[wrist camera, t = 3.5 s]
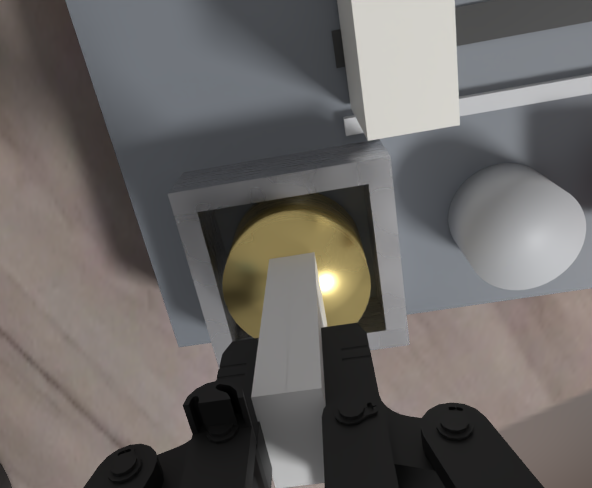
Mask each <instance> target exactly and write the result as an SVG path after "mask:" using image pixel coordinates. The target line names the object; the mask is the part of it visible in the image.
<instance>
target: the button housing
mask: <svg viewBox="0 0 592 488" xmlns="http://www.w3.org/2000/svg"><path fill="white" fill-rule="evenodd" d="M360 185H363V188H364V196H365V204H366V212H367V220H368V228H369V236H370V243H371V251H372V259H373V267H374V275H375V283H376V291H377V297H370V298H369V301H368V304H367V307H366V309H365V311H364V313H363V315H362V317H361V318H360V320H359V321H358V322H357V323H358V324H359V325H360V326H361V327H362V328H363V329H364V330H365V331H366V333H367V338H368V342H369V347H370V350H376V349H383V348H390V347H398V346H405V345H410V344H409V334H408V325H407V315H406V305H405V295H404V285H403V275H402V265H401V255H400V246H399V236H398V226H397V216H396V206H395V196H394V186H393V177H392V167H391V157H390V155H389V153H388V152H387V150H386V148H385V147H384V145H383V144H382V142H381V140H380V139H376V140H370V141H363V142H357V143H351V144H346V145H340V146H334V147H328V148H322V149H316V150H310V151H305V152H299V153H293V154H287V155H281V156H275V157H270V158H264V159H258V160H252V161H246V162H240V163H235V164H229V165H223V166H217V167H211V168H205V169H200V170H194V171H188V172H183V173H182V175H181V176H180V178H179V179H178V180H177V182H176V183H175V184H174V186H173V187H172V189H171V190H170V191H169V193H168V197H169V200H170V204H171V207H172V210H173V214H174V217H175V221H176V224H177V227H178V231H179V234H180V237H181V241H182V244H183V248H184V251H185V254H186V258H187V261H188V265H189V268H190V271H191V275H192V278H193V282H194V285H195V288H196V292H197V295H198V299H199V302H200V305H201V309H202V312H203V316H204V319H205V322H206V326H207V329H208V333H209V336H210V339H211V343H212V346H213V350H214V353H215V356H216V360H217V363H218V367H219V366H220V362H221V358H222V354H223V352H224V351H225V350H226V349H227V347H228V346H229V345H230V344H231V342H232V341H239V340H246V339H253V337H252V336H250V335H249V334H248V333H246V332H245V331H244V330H243V329H242V328H241V327H240V326H239V325H238V324H237V323H236V322H235V320H234V319H233V317H232V316H231V314H230V312H229V310H228V308H227V306H226V303H225V300H224V296H223V287H222V281H223V273H224V270H225V266H226V262H227V256H226V252H225V248H224V244H223V240H222V237H221V233H220V229H219V225H218V221H217V217H216V213H215V209H220V208H226V207H232V206H238V205H244V204H250V203H256V202H262V201H268V200H274V199H281V198H287V197H293V196H299V195H305V194H311V193H317V192H323V191H329V190H335V189H341V188H347V187H354V186H360ZM219 369H220V367H219Z"/></svg>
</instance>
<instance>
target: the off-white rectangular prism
mask: <svg viewBox="0 0 592 488" xmlns="http://www.w3.org/2000/svg"><path fill="white" fill-rule="evenodd" d="M337 5H338V12H339V20H340V28H341V36H342V43H343V51H344V59H345V67H346V74H347V82H348V90H349V98H350V105H351V109H352V111H353V113H354V115H355V117H356V119H357V121H358V123H359V125H360V127H361V129H362V130H363V132H364V134H365V136H366V138H367V140H368V141H370V140H376V139H382V138H388V137H393V136H399V135H405V134H411V133H417V132H423V131H428V130H434V129H440V128H446V127H452V126H458V125H460V113H459V90H458V66H457V43H456V20H455V0H337Z"/></svg>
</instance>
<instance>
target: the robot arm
mask: <svg viewBox="0 0 592 488" xmlns="http://www.w3.org/2000/svg"><path fill="white" fill-rule="evenodd" d="M219 367H220V369H219V370H218V375H217V380H216V381H215V382H211V383H207V384H205V385H203V386H201V387H199V388H197V389H196V390H194V391H193V392H192V393H191V394H190V395H189V396H188V397H187V399H186V401H185V402H184V404H183V407H184V410H185V413H186V416H187V419H188V422H189V425H190V428H191V431H192V433H193V435H192V439H191V440H190V441H188V442H187V443H185V444H183V445H181V446H179V447H177V448H174V449H172V450H169V451H166V452H164V453H161V454H159V455H157V454H156V452H155V451H154V450H153V449H152V448H151V447H150V446H147V445H144V444H135V445H129V446H126V447H123V448H121V449H118V450H117V451H115V452H114V453H112V454H111V455H109V456H108V457H107V458H106V459H105V460H104V461H103V462H102V463H101V464H100V465H99V466H98V468H97V469H96V471H95V472H94V474H93V475H92V476H91V478H90V479H89V481H88V482H87V483H86V485H85V486H84V488H271V481H272V477H273V480H274V484H275V488H284V487H293V486H301V485H310V484H319V483H325V488H544V487H543V486H542V485H541V483H540V482H539V481H538V480H537V479H536V477H535V476H534V475H533V474H532V473H531V472H530V471H529V469H528V468H527V467H526V465H525V464H524V463H523V462H522V460H521V459H520V458H519V457H518V456H517V454H516V453H515V452H514V451H513V450H512V449H511V447H510V446H509V445H508V443H507V442H506V441H505V440H504V439H503V437H502V436H501V435H500V434H499V433H498V431H497V430H496V429H495V428H494V427H493V425H492V424H491V423H490V422H489V421H488V419H487V418H486V417H485V416H484V415H483V414H482V413H480V412H479V411H478V410H477V409H475V408H473V407H470V406H468V405H465V404H459V403H446V404H439V405H437V406H435V407H433V408H431V409H429V410H428V411H427V412H426V414H425V415H424V416H423V417H422V418H417V417H409V416H405V415H401V414H398V413H396V412H394V411H392V410H390V409H389V408H388V407H386V406H385V404H384V403H383V402H382V401H381V398H380V396H379V392H378V387H377V382H376V377H375V372H374V367H373V362H372V357H371V352H370V347H369V342H368V338H367V333H366V331H365V330H364V329H363V328H362V327H361V326H360V325H359V324H358V323H350V324H343V325H336V326H329V327H327V320H326V314H325V309H324V303H323V297H322V292H321V286H320V281H319V275H318V269H317V264H316V258H315V253H314V252H312V253H306V254H299V255H293V256H286V257H280V258H273V259H269V265H268V273H267V280H266V288H265V296H264V303H263V311H262V318H261V326H260V334H259V338H253V339H246V340H239V341H232V342H231V344H230V345H229V346H228V347H227V349H226V350H225V351H224V352H223V354H222V358H221V362H220V366H219ZM0 488H12V487H11V483H10V481H9V478H8V476H7V474H6V472H5V470H4V469H3V467H2V465H1V464H0Z"/></svg>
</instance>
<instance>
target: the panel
mask: <svg viewBox="0 0 592 488" xmlns="http://www.w3.org/2000/svg"><path fill="white" fill-rule="evenodd" d="M65 1H66V4H67V7H68V10H69V13H70V16H71V19H72V23H73V26H74V29H75V32H76V35H77V38H78V41H79V44H80V47H81V50H82V53H83V56H84V59H85V62H86V65H87V68H88V71H89V74H90V77H91V81H92V84H93V87H94V90H95V93H96V96H97V99H98V102H99V105H100V108H101V111H102V114H103V117H104V120H105V123H106V126H107V129H108V132H109V135H110V138H111V142H112V145H113V148H114V151H115V154H116V157H117V160H118V163H119V166H120V169H121V172H122V175H123V178H124V181H125V184H126V187H127V190H128V193H129V196H130V199H131V203H132V206H133V209H134V212H135V215H136V218H137V221H138V224H139V227H140V230H141V233H142V236H143V239H144V242H145V245H146V248H147V251H148V254H149V257H150V261H151V264H152V267H153V270H154V273H155V276H156V279H157V282H158V285H159V288H160V291H161V294H162V297H163V300H164V303H165V306H166V309H167V312H168V315H169V318H170V322H171V325H172V328H173V331H174V334H175V337H176V340H177V343H178V346H179V347H184V346H191V345H198V344H205V343H211V339H210V336H209V333H208V329H207V326H206V322H205V319H204V316H203V312H202V309H201V305H200V302H199V299H198V295H197V292H196V288H195V285H194V282H193V278H192V275H191V271H190V268H189V265H188V261H187V258H186V254H185V251H184V248H183V244H182V241H181V237H180V234H179V231H178V227H177V224H176V221H175V217H174V214H173V210H172V207H171V204H170V200H169V197H168V193H169V191H170V190H171V189H172V187H173V186H174V184H175V183H176V182H177V180H178V179H179V178H180V176H181V175H182V173H183V172H188V171H194V170H200V169H205V168H211V167H217V166H223V165H229V164H235V163H240V162H246V161H252V160H258V159H264V158H270V157H275V156H281V155H287V154H293V153H299V152H305V151H310V150H316V149H322V148H328V147H334V146H340V145H346V144H351V143H357V142H363V141H368V140H367V138H366V136H365V134H364V132H363V130H362V129H361V127H360V125H359V123H358V121H357V119H356V117H355V115H354V113H353V111H352V109H351V105H350V98H349V90H348V82H347V74H346V67H345V59H344V51H343V43H342V36H341V28H340V20H339V12H338V5H337V0H65ZM455 20H456V43H457V66H458V90H459V113H460V125H458V126H452V127H446V128H440V129H434V130H428V131H423V132H417V133H411V134H405V135H399V136H393V137H388V138H382V139H380V140H381V142H382V144H383V145H384V147H385V148H386V150H387V152H388V153H389V155H390V157H391V167H392V177H393V186H394V196H395V206H396V216H397V226H398V236H399V246H400V255H401V265H402V275H403V285H404V295H405V305H406V315H407V314H414V313H421V312H428V311H435V310H442V309H449V308H456V307H463V306H470V305H477V304H484V303H491V302H498V301H505V300H512V299H519V298H526V297H533V296H540V295H547V294H554V293H561V292H568V291H575V290H582V289H589V288H592V0H455ZM317 193H319V194H322V195H324V196H327V197H329V198H330V199H332V200H334V201H335V202H337V203H338V204H339V205H341V206H342V207H343V208H344V209H345V210H346V211H347V212H348V213H349V215H350V216H351V218H352V219H353V221H354V223H355V224H356V226H357V229H358V232H359V235H360V239H361V242H362V246H363V250H364V254H365V258H366V261H367V265H368V269H369V274H370V280H371V290H370V297H377V291H376V283H375V275H374V267H373V259H372V251H371V243H370V236H369V228H368V220H367V212H366V204H365V196H364V188H363V185H360V186H354V187H347V188H341V189H335V190H329V191H323V192H317ZM256 203H257V202H256ZM256 203H250V204H244V205H238V206H232V207H226V208H220V209H215V213H216V217H217V221H218V225H219V229H220V233H221V237H222V240H223V244H224V248H225V252H226V256H227V259H228V256H229V252H230V249H231V245H232V242H233V239H234V235H235V232H236V229H237V227H238V224H239V222H240V221H241V219H242V217H243V216H244V215H245V214H246V212H247V211H248V210H249V209H250V208H251V207H252V206H253V205H254V204H256ZM370 297H369V298H370Z"/></svg>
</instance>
